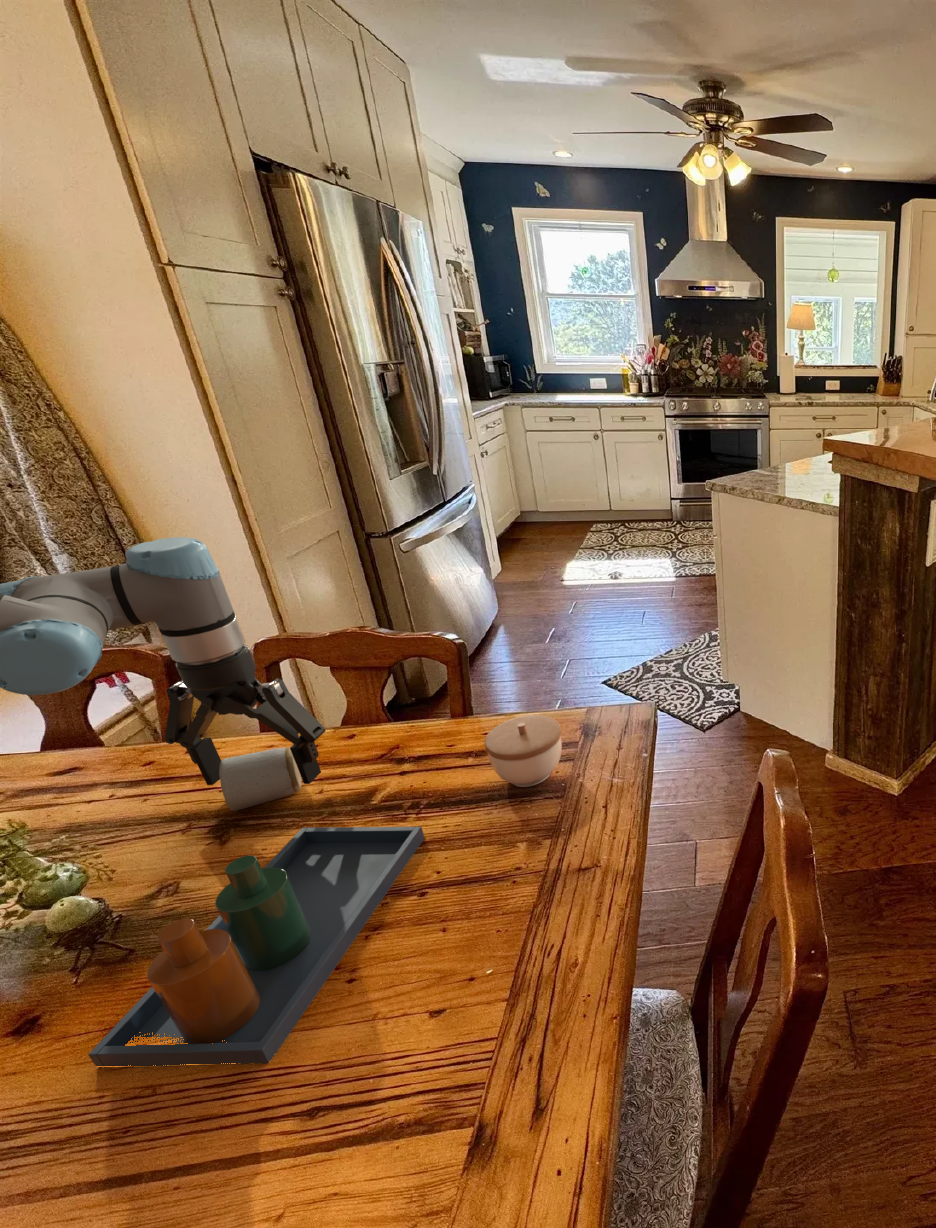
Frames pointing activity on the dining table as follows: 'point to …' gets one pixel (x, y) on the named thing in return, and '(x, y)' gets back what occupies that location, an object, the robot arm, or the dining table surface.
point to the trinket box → (525, 749)
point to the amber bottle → (202, 982)
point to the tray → (335, 912)
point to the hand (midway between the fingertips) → (265, 778)
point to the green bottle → (262, 914)
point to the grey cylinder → (259, 777)
